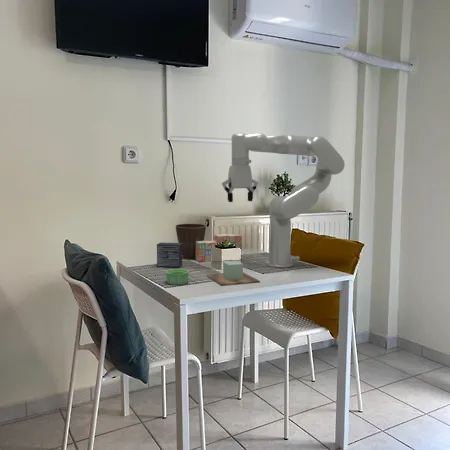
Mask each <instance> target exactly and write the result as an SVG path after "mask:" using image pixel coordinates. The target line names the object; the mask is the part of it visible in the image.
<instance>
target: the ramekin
mask: <svg viewBox="0 0 450 450" xmlns="http://www.w3.org/2000/svg"><path fill="white" fill-rule="evenodd" d="M189 273H190V270H188V269H183V268H170V269H167V270H165V278H166V283H167V284H168V285H172V284H173V285H175V286H176V285H177V286H179V285H185V284H187V283H188V281H189Z"/></svg>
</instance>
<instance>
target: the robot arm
mask: <svg viewBox="0 0 450 450" xmlns="http://www.w3.org/2000/svg"><path fill="white" fill-rule="evenodd" d="M250 152H255V153H256V152H259V153H270V154H279V155H293V156H294V155H295V156H307V157H308V156H309V157H317V159H318V160H317V162H316V166H315V167H316V168H315V172H314V173H313V175H312V176H310V177H309V178H308V179H306V180H304V181H303V182H301V183H300V184H296V186H294V187H293V188H292V189H291V191H290V193H289V194H290V195H288V196H283V195H278V196H275V197H273V198H272V199H271V200H270V202H269V206H268V215H269V260H266V261H265V265H266V266H268V267H271V268H279V269H280V268H283V269H284V268H291V267H293V266H294V261H300V256H299V255H291V239H292V233H291V232H292V221H291V219H293V218H294V219H295V218H296V217H298V216H299V215H301V214H302V213H304V212H306V211H307V210H309V209H311V208H313V207H314V206H316V203H317V202H318V200H319V197H320V194H321V193H323V192H324V191H326V190H327V188H329V185H330V183H331V180H332V176H333V175H338V174H340V173H342V172H343V171H344V169H345V160H344V158H343V157H342V156H341V154H340V153H339V152H338V150H337V149H335V147H334V146H333V145H332V143H331V142H329V141H328V139H326V138H325V137H324V136H322V135H317V136H315V135H314V136H306V135H305V136H304V135H292V134H283V135H282V134H281V135H265V134H264V133H260V132H258V133H249V134H248V133H233V134H232V136H231V165H230V166H229V168H228V169H229V170H228V177H227V180H225V181H223V182H222V183H221V185H222V188H223V189H224V191H226V193H227V202H229V203H233V201H234V199H233V198H234V197H233V196H234V195H233V194H234V193H233V191H234V189H247V191H248V192H247V202H253V199H254V192H255V190H256V189H257V187H258V185H259V181H256V180H255V179H253V175H252V168H251V165H250V164H251V163H252V159H250Z"/></svg>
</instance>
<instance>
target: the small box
mask: <svg viewBox="0 0 450 450" xmlns="http://www.w3.org/2000/svg"><path fill="white" fill-rule="evenodd" d="M182 266H183V255H182V243H178V242H158V243H157V244H156V268H160V267H165V268H166V269H168V268H169V269H181V267H182ZM165 268H164V269H165Z"/></svg>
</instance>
